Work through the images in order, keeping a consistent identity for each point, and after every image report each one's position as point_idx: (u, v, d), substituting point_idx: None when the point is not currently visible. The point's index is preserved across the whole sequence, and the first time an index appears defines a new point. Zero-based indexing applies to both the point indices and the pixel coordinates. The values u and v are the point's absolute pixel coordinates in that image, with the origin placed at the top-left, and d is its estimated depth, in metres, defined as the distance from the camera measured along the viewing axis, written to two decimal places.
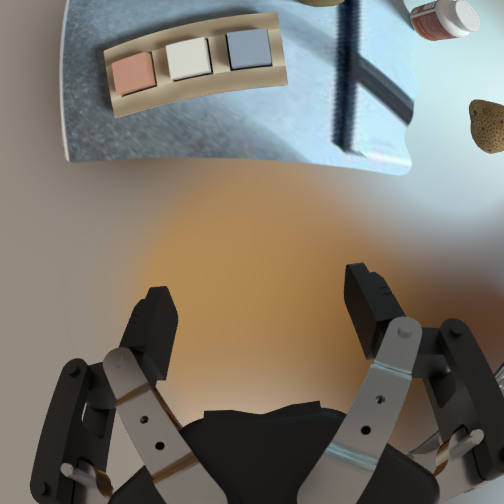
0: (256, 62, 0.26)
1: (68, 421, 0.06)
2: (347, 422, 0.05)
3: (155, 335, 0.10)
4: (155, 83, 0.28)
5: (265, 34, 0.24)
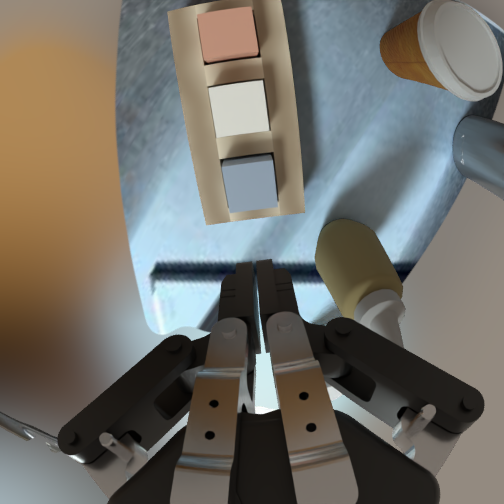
0: (228, 196, 0.25)
1: (137, 398, 0.07)
2: (289, 431, 0.05)
3: (255, 307, 0.11)
4: (209, 62, 0.20)
5: (269, 205, 0.25)
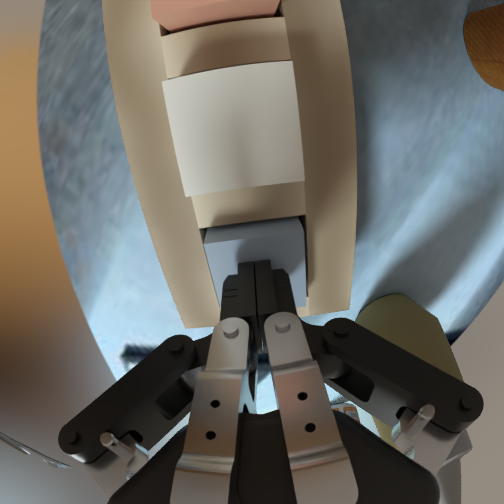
0: (219, 291, 0.14)
1: (139, 398, 0.07)
2: (289, 431, 0.05)
3: (256, 306, 0.11)
4: (174, 29, 0.08)
5: None
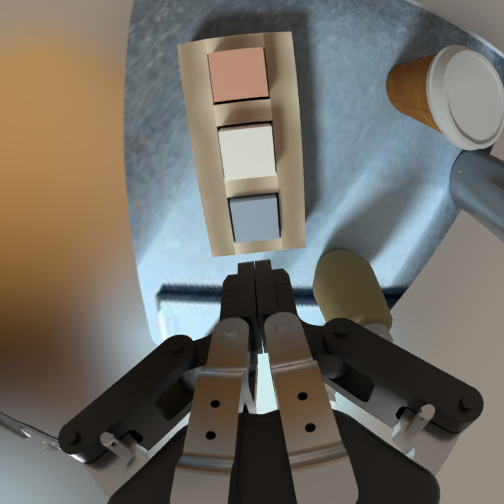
0: (235, 228, 0.28)
1: (139, 398, 0.07)
2: (288, 431, 0.05)
3: (256, 306, 0.11)
4: None
5: (271, 237, 0.28)
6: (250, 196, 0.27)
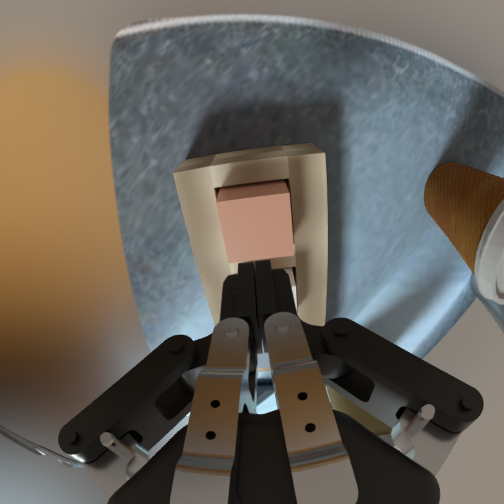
0: None
1: (139, 398, 0.07)
2: (288, 431, 0.05)
3: (256, 306, 0.11)
4: None
5: None
6: None
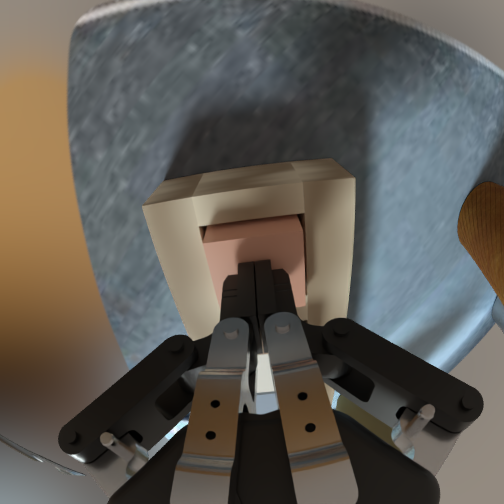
0: None
1: (138, 398, 0.07)
2: (288, 431, 0.05)
3: (256, 307, 0.11)
4: None
5: None
6: None
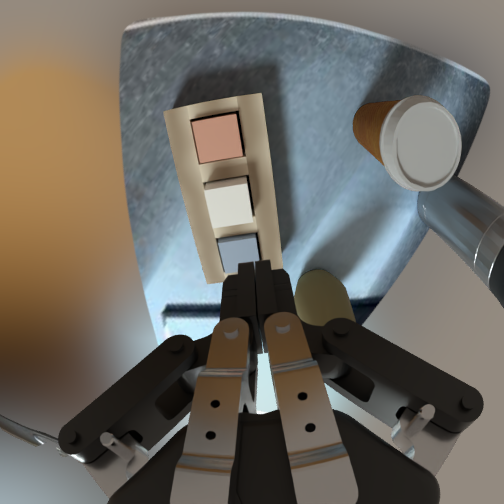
0: (224, 262, 0.34)
1: (138, 398, 0.07)
2: (289, 431, 0.05)
3: (256, 306, 0.11)
4: None
5: None
6: (234, 236, 0.33)
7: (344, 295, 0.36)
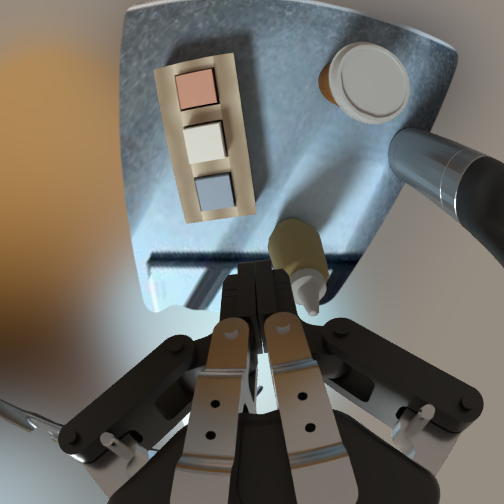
0: (200, 200, 0.37)
1: (139, 398, 0.07)
2: (289, 431, 0.05)
3: (256, 306, 0.11)
4: None
5: (228, 206, 0.37)
6: (211, 175, 0.36)
7: (315, 237, 0.38)
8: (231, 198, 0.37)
